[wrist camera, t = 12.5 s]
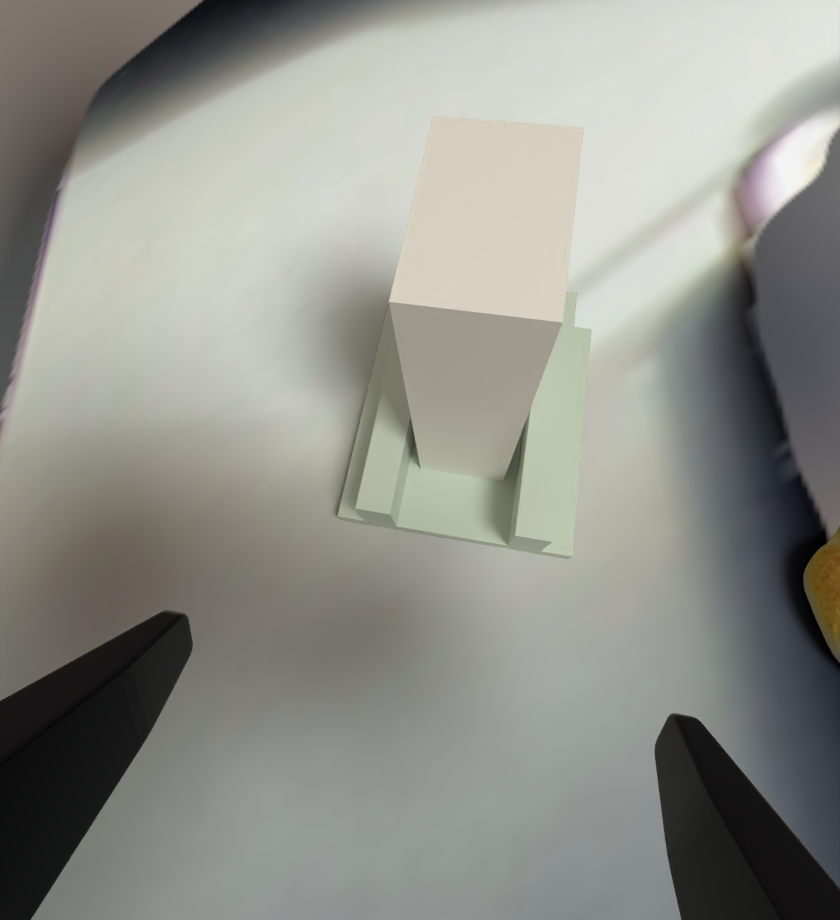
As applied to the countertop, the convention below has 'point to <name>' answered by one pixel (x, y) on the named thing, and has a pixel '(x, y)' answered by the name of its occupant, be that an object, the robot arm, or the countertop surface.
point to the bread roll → (826, 591)
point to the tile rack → (464, 497)
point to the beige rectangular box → (483, 285)
